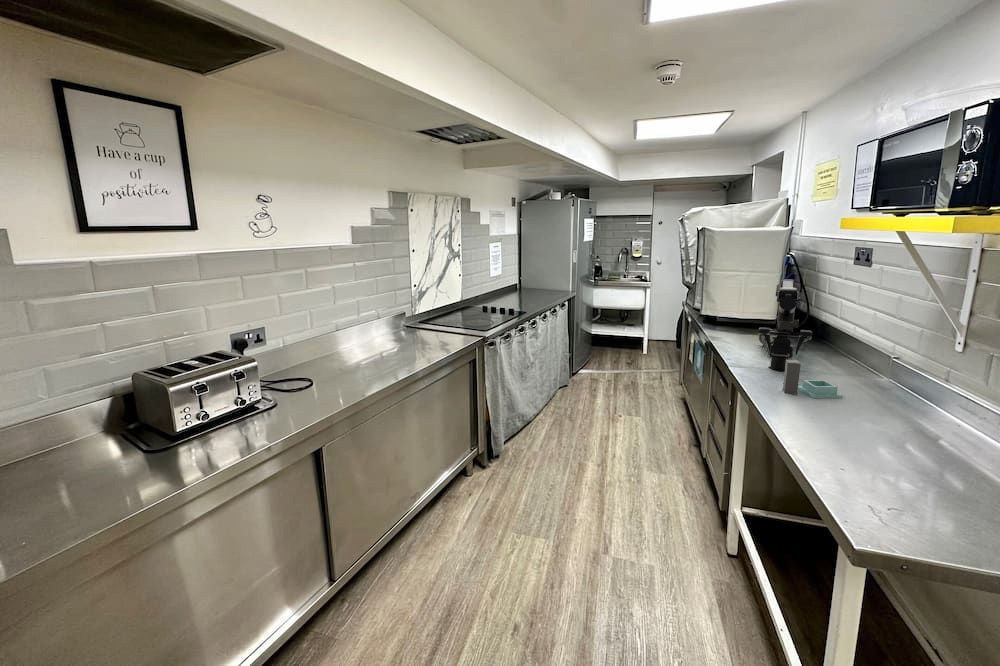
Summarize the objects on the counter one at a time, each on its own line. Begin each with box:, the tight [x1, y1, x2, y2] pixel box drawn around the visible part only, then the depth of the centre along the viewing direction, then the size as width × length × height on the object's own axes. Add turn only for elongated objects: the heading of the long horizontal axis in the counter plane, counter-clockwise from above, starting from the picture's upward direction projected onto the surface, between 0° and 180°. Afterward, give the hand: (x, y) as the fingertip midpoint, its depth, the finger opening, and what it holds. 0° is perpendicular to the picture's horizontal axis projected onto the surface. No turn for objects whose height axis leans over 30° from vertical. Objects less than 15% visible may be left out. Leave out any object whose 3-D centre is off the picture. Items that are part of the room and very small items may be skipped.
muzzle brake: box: [758, 328, 777, 355], centre depth 239 cm, size 10×28×10 cm, turn 158°
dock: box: [798, 379, 843, 399], centre depth 181 cm, size 11×11×4 cm
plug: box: [782, 359, 802, 395], centre depth 182 cm, size 4×4×13 cm
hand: (782, 353), depth 184 cm, fingers open, 9 cm apart
